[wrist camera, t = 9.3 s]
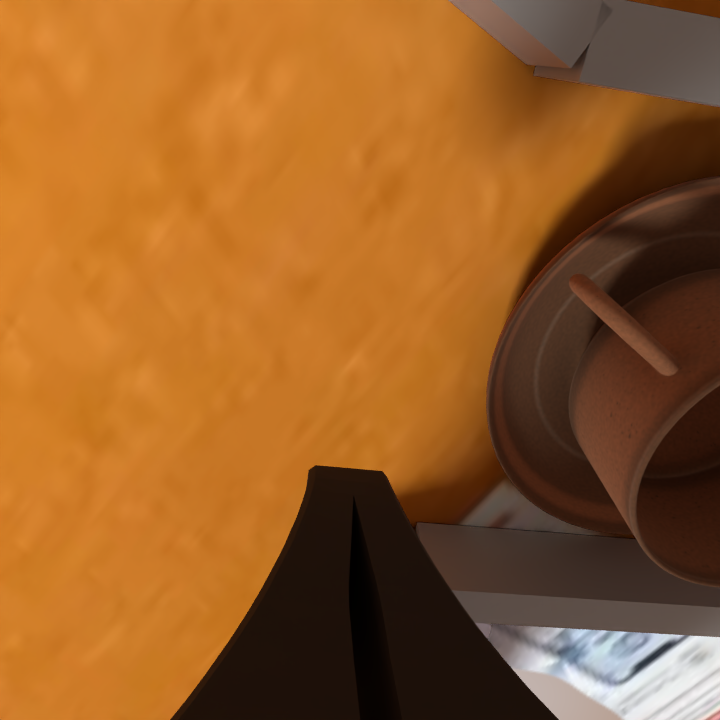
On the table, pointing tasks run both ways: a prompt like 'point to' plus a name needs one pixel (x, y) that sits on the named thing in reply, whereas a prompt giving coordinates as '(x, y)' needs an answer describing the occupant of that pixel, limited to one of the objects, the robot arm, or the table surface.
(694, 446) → the cup and saucer
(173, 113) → the table surface
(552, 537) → the bent grey bar frame
